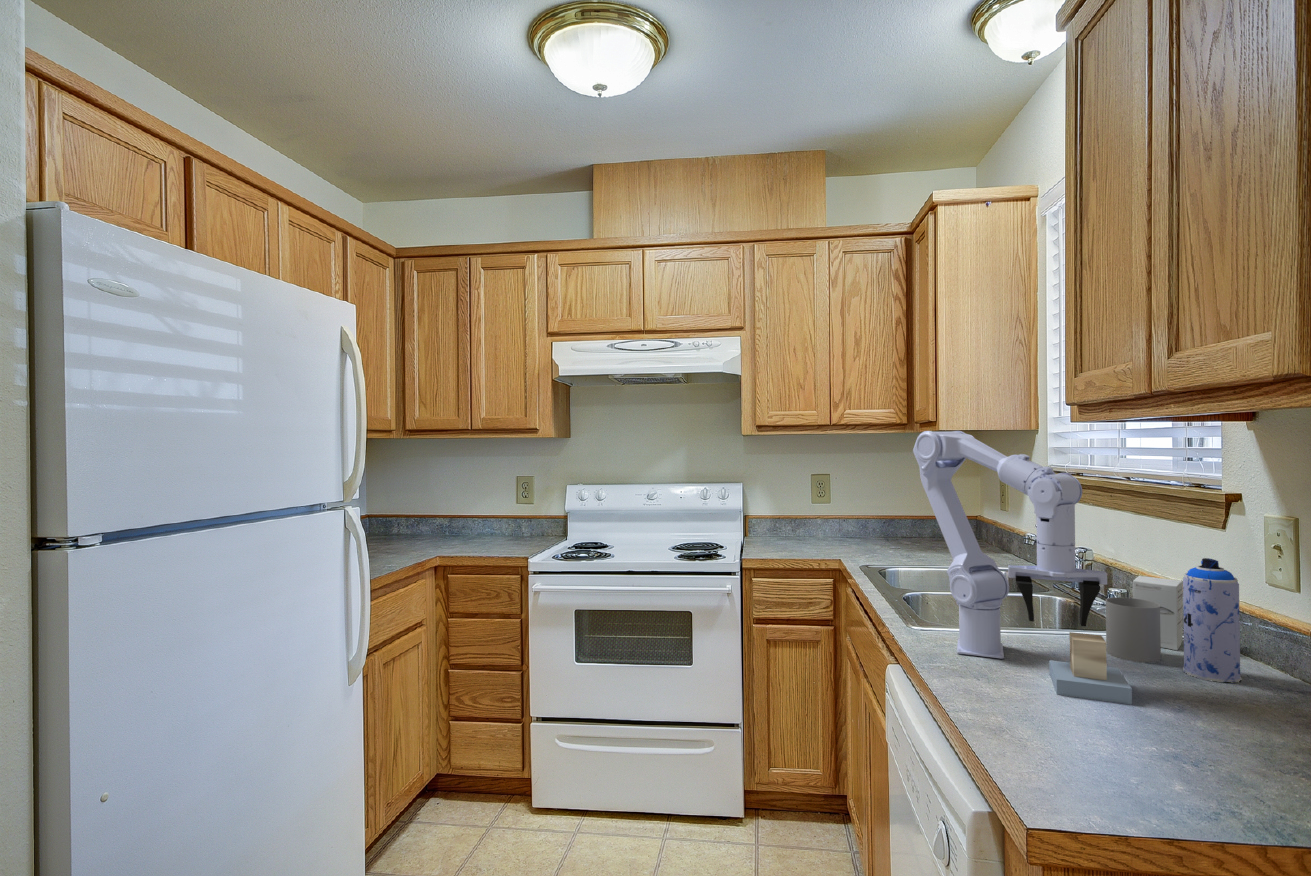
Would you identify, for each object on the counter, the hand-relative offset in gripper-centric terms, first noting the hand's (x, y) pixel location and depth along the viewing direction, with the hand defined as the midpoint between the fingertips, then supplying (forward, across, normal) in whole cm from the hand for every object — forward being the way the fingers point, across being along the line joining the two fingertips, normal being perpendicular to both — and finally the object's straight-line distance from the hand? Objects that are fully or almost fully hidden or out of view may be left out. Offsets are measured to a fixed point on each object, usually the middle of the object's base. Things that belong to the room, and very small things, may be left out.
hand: (1056, 622), depth 115 cm
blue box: (+10, +4, -4) cm, 11 cm away
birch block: (+7, +4, -4) cm, 9 cm away
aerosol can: (+10, +24, +12) cm, 28 cm away
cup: (+10, +14, +19) cm, 26 cm away
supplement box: (+10, +20, +30) cm, 37 cm away
